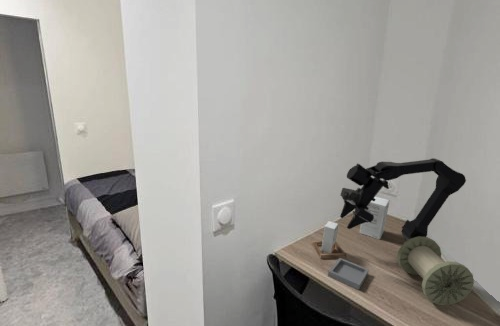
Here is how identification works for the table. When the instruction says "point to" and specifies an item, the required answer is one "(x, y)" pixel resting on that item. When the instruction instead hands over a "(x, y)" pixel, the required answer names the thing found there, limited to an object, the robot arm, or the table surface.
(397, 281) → the table surface
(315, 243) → the open wooden picture frame
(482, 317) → the table surface
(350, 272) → the cradle tray
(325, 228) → the skincare box
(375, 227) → the supplement box
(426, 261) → the spool
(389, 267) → the table surface
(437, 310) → the table surface
